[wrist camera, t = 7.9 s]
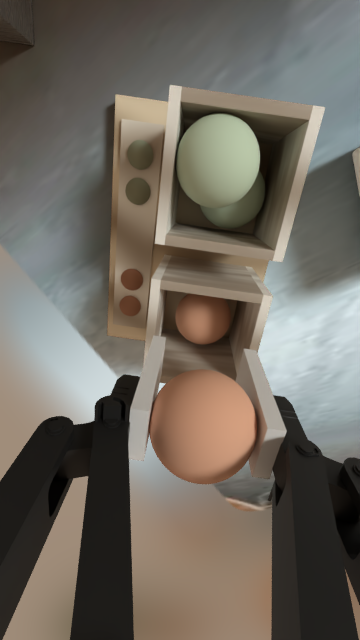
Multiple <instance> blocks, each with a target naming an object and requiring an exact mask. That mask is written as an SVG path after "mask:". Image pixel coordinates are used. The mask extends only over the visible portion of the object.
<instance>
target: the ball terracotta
mask: <svg viewBox="0 0 360 640" xmlns="http://www.w3.org/2000/svg"><path fill="white" fill-rule="evenodd" d="M149 434H150V439H151V443H152V446H153V448H154V451H155V453H156V455H157V457H158V458H159V459H160V461H161V462H162V464H163V465H164V466H165V467H166V468H167V469H168V470H169V471H170V472H172V473H173V474H174V475H176V476H177V477H179V478H181V479H183V480H186V481H188V482H191V483H197V484H213V483H217V482H221V481H223V480H226V479H228V478H230V477H231V476H233V475H234V474H236V473H237V472H238V471H239V470H240V469H241V468H242V467H243V466H244V465H245V463H246V462H247V461H248V459H249V457H250V456H251V454H252V451H253V449H254V446H255V442H256V437H257V420H256V414H255V410H254V407H253V405H252V403H251V400H250V399H249V397H248V395H247V394H246V392H245V391H244V390H243V389H242V388H241V386H240V385H239V384H238V383H236V382H235V381H234V380H233V379H231V378H229V377H228V376H226V375H224V374H222V373H220V372H216V371H212V370H205V369H197V370H191V371H187V372H184V373H181V374H179V375H177V376H176V377H174V378H173V379H171V380H170V381H168V382H167V383H166V384H165V385H164V386H163V388H162V389H161V390H160V391H159V393H158V395H157V396H156V398H155V400H154V402H153V405H152V410H151V415H150V422H149Z"/></svg>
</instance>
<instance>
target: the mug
mask: <svg viewBox="0 0 360 640" xmlns="http://www.w3.org/2000/svg"><path fill="white" fill-rule="evenodd" d="M352 156H353V162H354V168H355V173H356V179H357V184H358V190H359V196H360V147H359V148H357V149H356V150H355V151H354V152H353V154H352Z"/></svg>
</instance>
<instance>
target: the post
mask: <svg viewBox="0 0 360 640" xmlns="http://www.w3.org/2000/svg"><path fill="white" fill-rule="evenodd" d="M0 41H5V42H12V43H19V44H26V45H33V46H34V31H33V13H32V0H0Z"/></svg>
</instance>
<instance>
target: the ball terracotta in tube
mask: <svg viewBox="0 0 360 640" xmlns="http://www.w3.org/2000/svg"><path fill="white" fill-rule="evenodd" d="M175 319H176V325H177V327H178V330H179V331H180V333H181V334H182V335H183V336H184V337H185V338H186V339H187V340H189V341H191V342H193V343H196V344H202V345H203V344H210V343H213V342H216V341H217V340H219V339H220V338H221V337H223V336H224V334H225V333H226V332H227V330H228V328H229V325H230V321H231V313H230V309H229V306H228V304H227V302H226V301H225V299H224V298H218V297H211V296H205V295H198V294H191V293H188V294H187V295H186V296H184V298H183V299H182V300H181V301H180V302H179V304H178V307H177V309H176V316H175Z"/></svg>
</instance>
